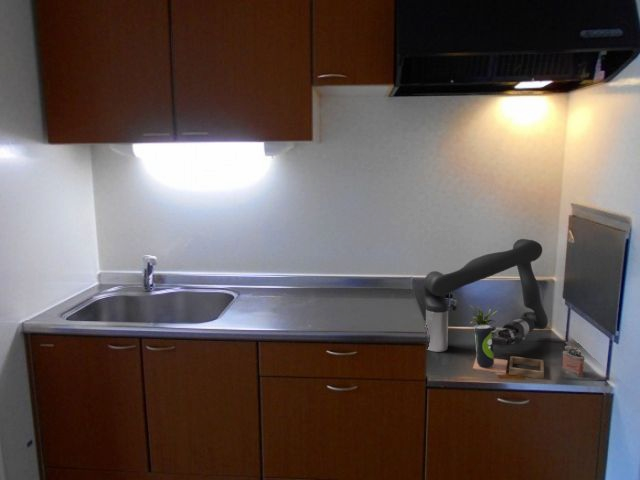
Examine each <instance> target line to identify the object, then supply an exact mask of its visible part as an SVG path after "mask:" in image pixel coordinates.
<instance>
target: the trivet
mask: <svg viewBox="0 0 640 480" xmlns="http://www.w3.org/2000/svg"><path fill="white" fill-rule="evenodd" d="M508 361H509V359H508V360H507V359H501V358H494V364H493V365H492V366H487V367H484V366H480V365H479V364H478V363H477V355H475V359H474V363H473V367H472V369H473V370H475V371H483V372H490V373H497V374H504V375H506V374H507V368H508Z"/></svg>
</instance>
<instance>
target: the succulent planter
mask: <svg viewBox="0 0 640 480" xmlns="http://www.w3.org/2000/svg"><path fill="white" fill-rule="evenodd" d="M564 349H565V350H562V367H561V371H562V372H564V373H566V374H568V373H569V374H568V375H570V374H571V375H570V376H573V375H575V376H574V377H576V376H578V377H577V378H584V364H585V363H584V360H585V356H584V355H582V350H580V349H578V348H577V347H572V346H570V345H565V346H564Z"/></svg>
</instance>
